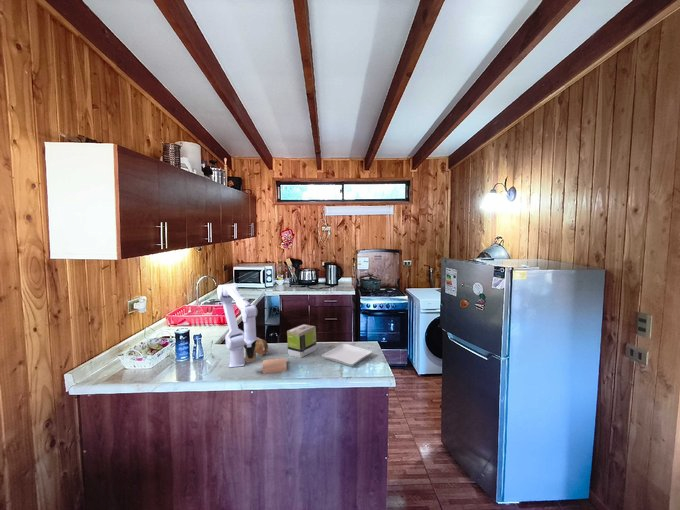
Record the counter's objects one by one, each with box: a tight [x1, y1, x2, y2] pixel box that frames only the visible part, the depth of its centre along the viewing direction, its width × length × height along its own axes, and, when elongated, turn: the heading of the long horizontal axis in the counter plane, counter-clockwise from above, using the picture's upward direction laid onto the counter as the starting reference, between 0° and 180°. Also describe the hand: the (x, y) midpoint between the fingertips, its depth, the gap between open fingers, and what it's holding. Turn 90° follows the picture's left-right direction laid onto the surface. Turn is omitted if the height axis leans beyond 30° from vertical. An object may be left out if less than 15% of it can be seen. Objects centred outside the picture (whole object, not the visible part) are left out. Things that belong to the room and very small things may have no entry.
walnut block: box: [245, 347, 257, 363], centre depth 164 cm, size 4×4×6 cm
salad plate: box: [321, 343, 373, 367], centre depth 182 cm, size 21×21×3 cm
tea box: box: [286, 324, 318, 359], centre depth 190 cm, size 15×10×15 cm
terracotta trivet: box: [262, 357, 288, 374], centre depth 171 cm, size 12×12×2 cm
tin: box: [255, 338, 269, 356], centre depth 191 cm, size 15×3×8 cm, turn 48°
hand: (251, 356), depth 164 cm, fingers closed on walnut block, 4 cm apart
